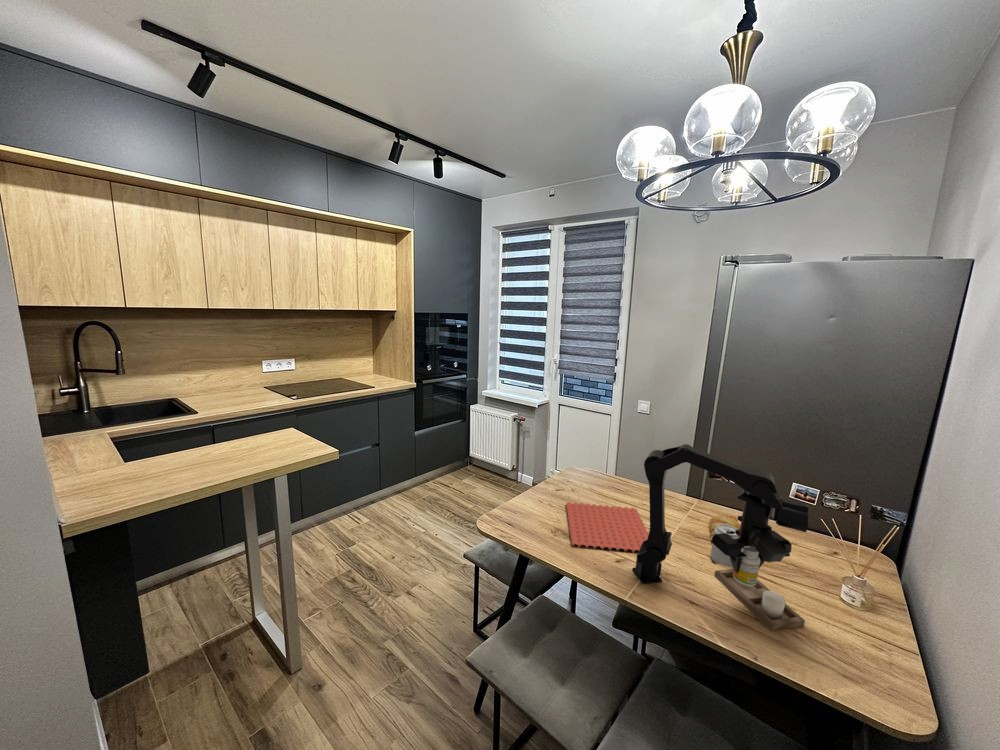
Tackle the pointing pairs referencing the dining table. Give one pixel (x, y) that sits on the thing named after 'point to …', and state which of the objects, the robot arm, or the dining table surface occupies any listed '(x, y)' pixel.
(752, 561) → the supplement bottle
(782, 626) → the caddy
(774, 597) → the white rounded cylinder
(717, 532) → the can
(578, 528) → the red studded mat
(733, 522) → the croissant
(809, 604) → the dining table surface
